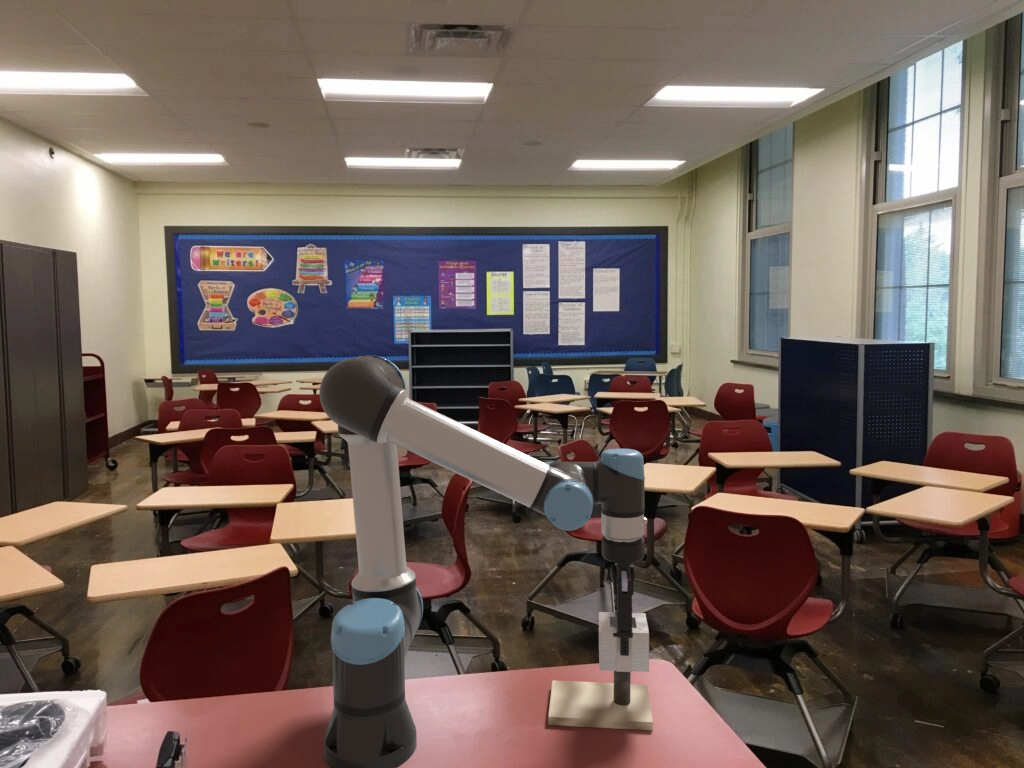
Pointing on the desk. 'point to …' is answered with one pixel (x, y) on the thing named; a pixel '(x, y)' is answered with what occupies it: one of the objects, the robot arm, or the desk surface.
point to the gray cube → (609, 642)
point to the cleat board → (601, 704)
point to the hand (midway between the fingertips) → (623, 658)
